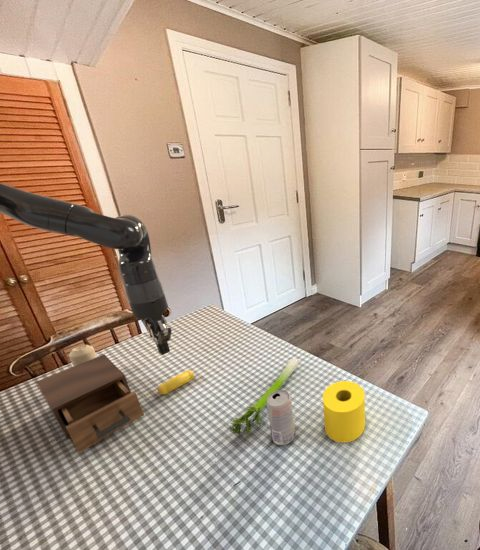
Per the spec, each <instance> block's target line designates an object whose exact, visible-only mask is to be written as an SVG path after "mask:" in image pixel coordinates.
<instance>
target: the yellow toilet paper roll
mask: <svg viewBox="0 0 480 550" xmlns="http://www.w3.org/2000/svg"><path fill="white" fill-rule="evenodd" d="M365 399H366V394H365V390H364V388H363V387H362V386H361V385H360V384H358V383H356V382H354V381H351V380H340V381H336V382H333V383H331V384H330V385H328V386H327V387H326V388H325V390H324V391H323V393H322V406H323V407H322V409H323V410H322V411H323V423H324V430H325V431H324V432H325V434H326V436H328V438H329V439H330V440H332V441H334V442H336V443H352V442H354V441H356V440H357V439H359V438H360V437H361V436H362V434H363V433H364V431H365V429H366V400H365Z"/></svg>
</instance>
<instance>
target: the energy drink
mask: <svg viewBox="0 0 480 550" xmlns="http://www.w3.org/2000/svg"><path fill="white" fill-rule="evenodd" d="M292 402H293V401H292V397H291V395H290V393H289V391H287V390H285V389H279V390H277V391H274V392H272V393H271V394H270V395H269V396H268V398H267V404H266V409H267V415H268V419H269V420H268V421H269V427H270V432H271V439H272V442H273V443H274V444H275V445H277V446H286V445H288V444H290V443H291V442H292V441H294V439H295V437H296V427H295V419H294V409H293V403H292Z"/></svg>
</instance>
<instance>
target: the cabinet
mask: <svg viewBox="0 0 480 550" xmlns="http://www.w3.org/2000/svg"><path fill="white" fill-rule="evenodd" d="M117 381H120V382H121V383H122V384H123V385H124V386H125V387H126V388H127V390H128V391H129V392H130V393H132V391H131V387H130V386H129V384H128V381H127V378H126V375H125V373H123V372H122V371H121V370H120V368H118V367H117V366H116V364H115V363H114V362H113V361H111V359H109V358H108V357H107V355H106V354H102V355H99V356H97V357H96V358H94V359H91V360H89V361H87V362H84V363H82V364H79V365H77V366H72V367H69V368H66V369H65V370H63V371H60V372H58V373H54V374H53V375H50V376H48V377H45V378H43V379H40V380H39V381H36V384H37V386H38V388H39V390H40V392H41V394H42V396H43V397H44V399H45V402H46V404H47V405H48V407H49V409H50V411H51V413H52V414H53V417H54V418H55V420H56V422H57V423H58V426H59V427H60V429H61V431H62V433H63V435H64V436H65V439H68V438H71V436H70V435H69V433H68V431H67V429H66V426H68V424H67V422H66V420H65V418H64V416H63V414H62V412H61V410H60V409H61V408H63V407H65V406H67V405H69V404H71V403H73V402H75V401H78V400H80V399H82V398H84V397H86V396H88V395H90V394H92V393H94V392H96V391H98V390H101V389H103V388H105V387H107V386H109V385H111V384H113V383H115V382H117Z"/></svg>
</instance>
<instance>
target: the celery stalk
mask: <svg viewBox="0 0 480 550" xmlns="http://www.w3.org/2000/svg"><path fill="white" fill-rule="evenodd" d="M300 363H301V361H300V360H299V359H298V358H290V359H289V360H288V362H287V364H286V366H285V367H284V369H283V370H282V371H281V373H280V374H279V375H278V377H277V378H276V380H275V381H274V382H273V384H272V385H271V386H270V387H269V388H268V390H267V391H265V392H264V394H263V395H262V396H261V397H260V398H259V399H258V400H257V401H256V402H255V403H254V404H253V405H252V406H250V405H249V406H246V407H245V409H246V410H247V411H246V412H245V413H244V414H242V416H241V417H235V419H234V420H232V422H230V425H231V426H230V427H229V429H230V431H229V432H232V433H233V434H235V435H236V434H237V435H239V436H240V435H241V434H242V430H243V429H242V425H243V424H245V426H244V431H245V432H244V436H246V437H247V436H248V434H249V433H250V431H252V425H253V424H254V423H256V425H259V427H260V426H261V425H262V421H261V412H262V411H263V409H264V408H265V406H267V398H268V396H269V395H270V394H271V393H272V392H274V391H277V390H281V388H282V386H283V385H284V384H285V383H286V381H287V380H288V379H289V378H290V376H291V375H292V374H293V372H294V371H295V369H297V367H298V366H299V365H300ZM251 416H253V419H252V418H251V419H250V417H251Z"/></svg>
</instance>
